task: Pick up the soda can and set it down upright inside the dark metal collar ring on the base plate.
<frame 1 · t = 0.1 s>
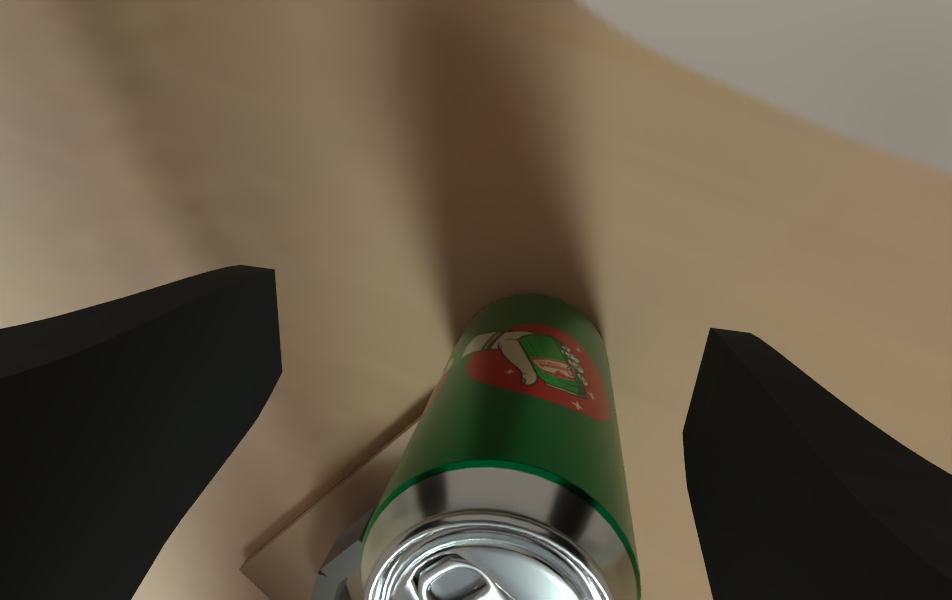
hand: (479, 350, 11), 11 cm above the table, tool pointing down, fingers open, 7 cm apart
soda can: (531, 359, 22), on the table
can socket: (435, 585, 25), on the table
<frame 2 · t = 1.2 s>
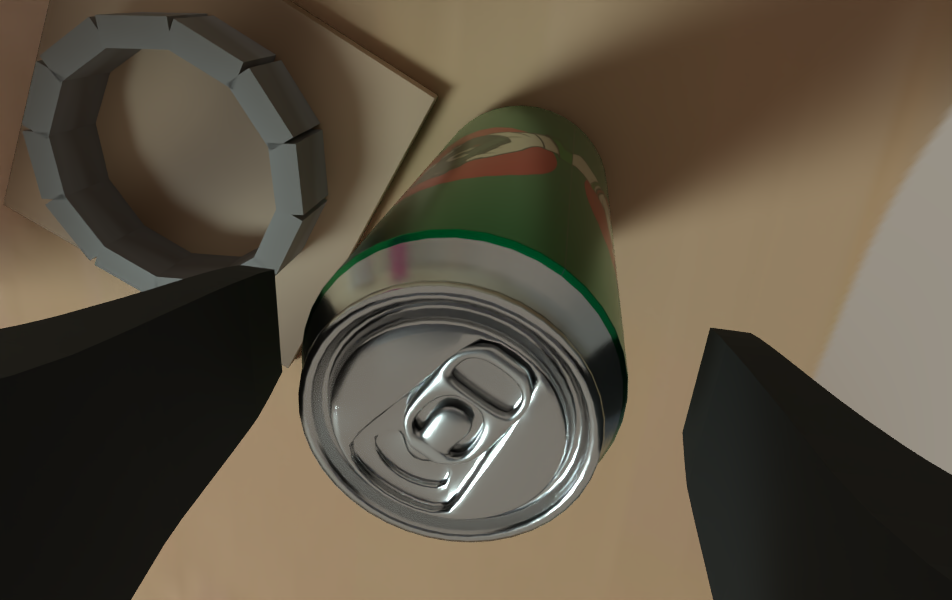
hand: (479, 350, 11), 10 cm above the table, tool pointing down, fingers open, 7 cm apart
soda can: (522, 186, 20), on the table
can socket: (207, 152, 21), on the table
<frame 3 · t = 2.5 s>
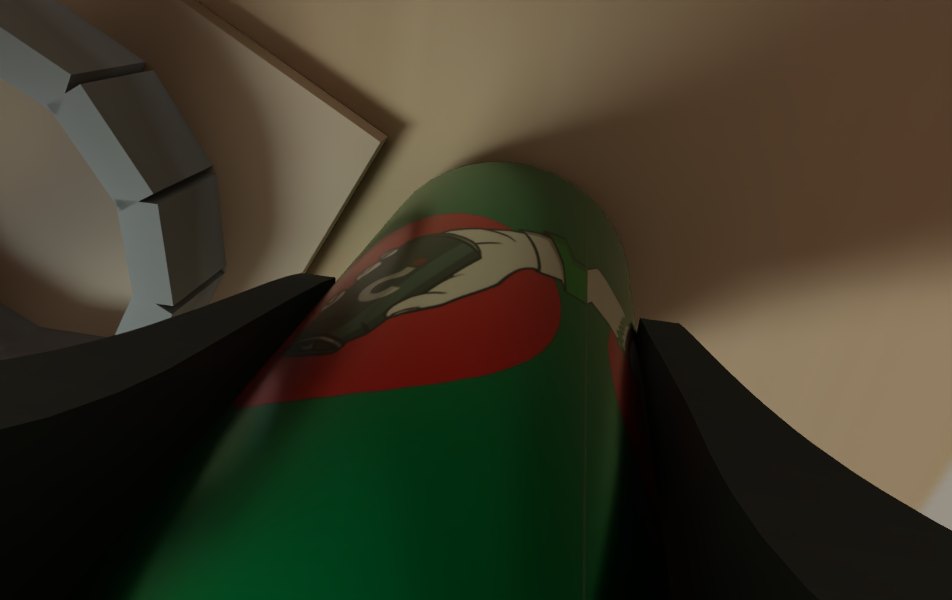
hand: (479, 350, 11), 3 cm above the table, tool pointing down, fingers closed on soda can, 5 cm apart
soda can: (504, 270, 14), on the table, touching gripper
can socket: (59, 192, 14), on the table
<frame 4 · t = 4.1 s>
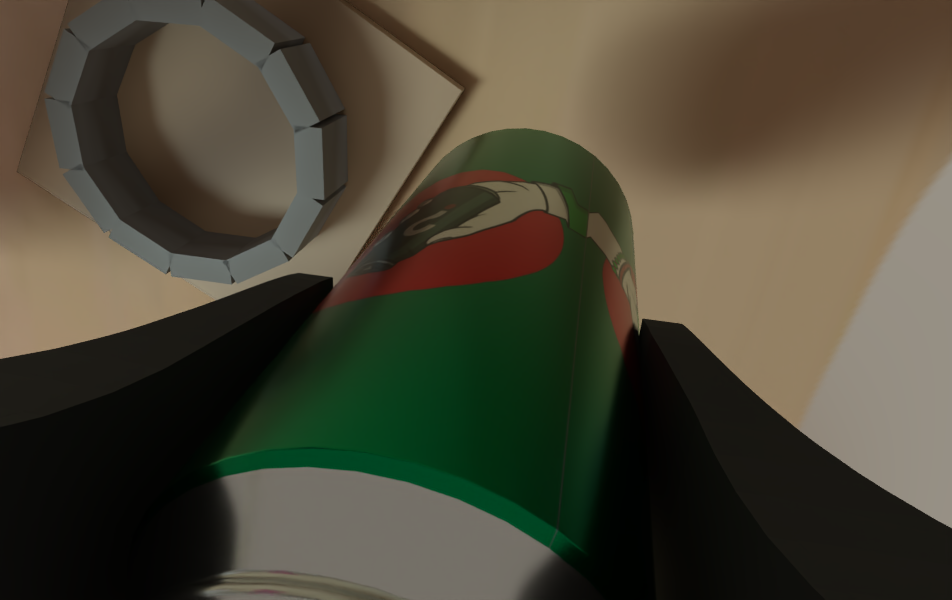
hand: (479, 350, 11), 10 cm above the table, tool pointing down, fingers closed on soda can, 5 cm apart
soda can: (524, 225, 16), point 4 cm above the table, touching gripper
can socket: (228, 131, 21), on the table
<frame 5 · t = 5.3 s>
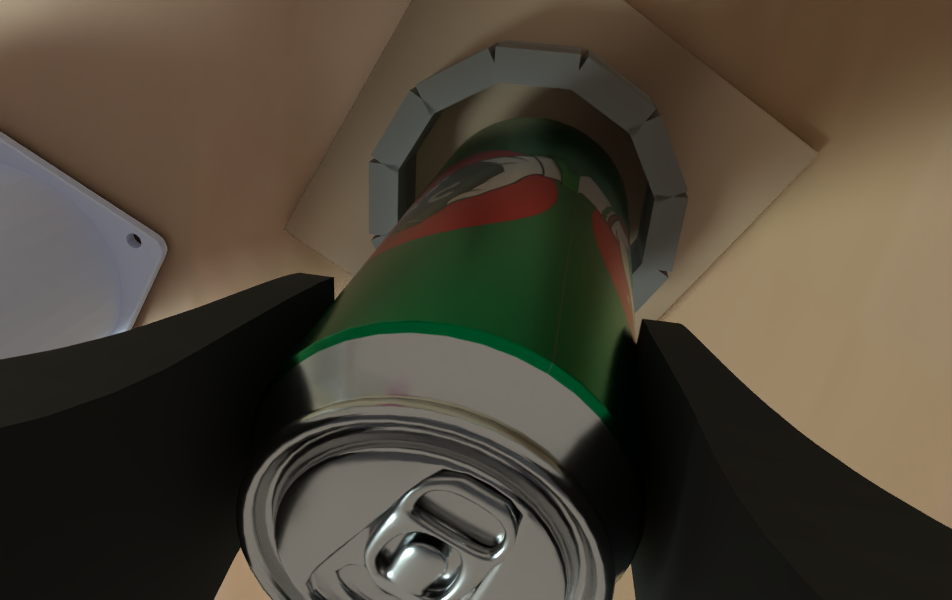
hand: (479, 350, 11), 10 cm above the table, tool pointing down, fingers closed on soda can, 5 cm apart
soda can: (532, 204, 18), point 2 cm above the table, touching gripper
can socket: (528, 190, 19), on the table
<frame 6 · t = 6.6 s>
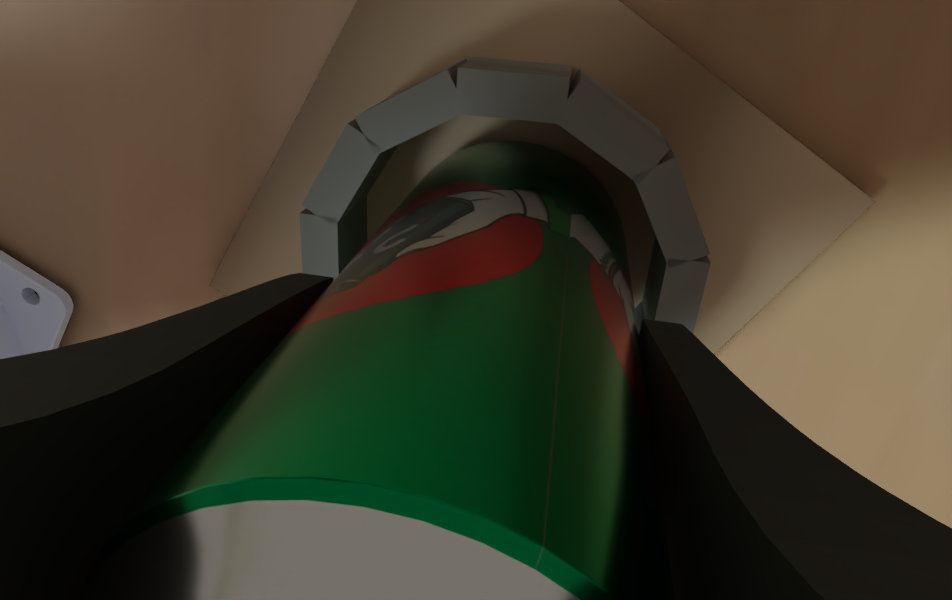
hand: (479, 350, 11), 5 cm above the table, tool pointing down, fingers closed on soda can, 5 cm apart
soda can: (513, 242, 15), resting on can socket, touching gripper
can socket: (507, 240, 15), on the table
when the fingers open (5 cm above the table, at t = 6.7 s): soda can stays where it is, resting on can socket.
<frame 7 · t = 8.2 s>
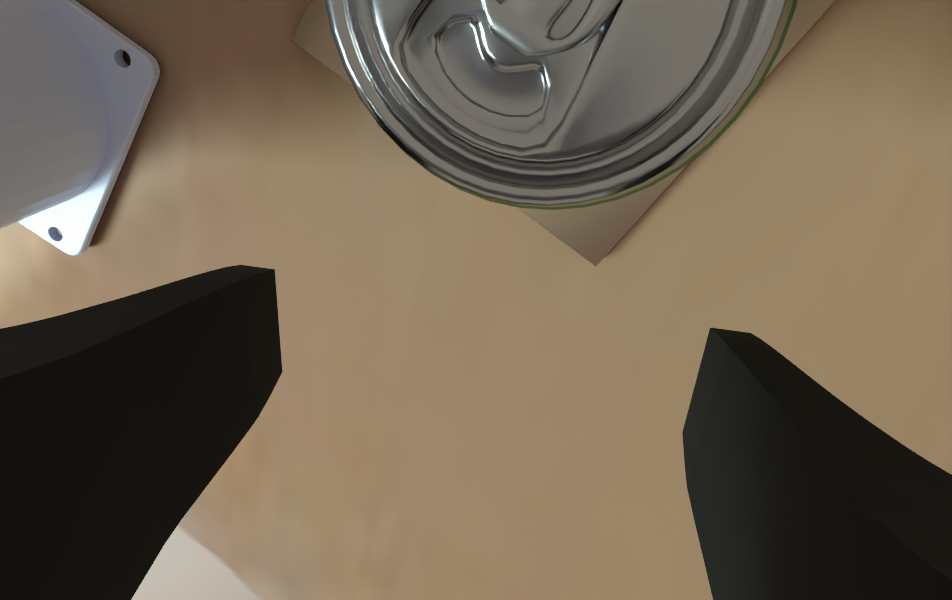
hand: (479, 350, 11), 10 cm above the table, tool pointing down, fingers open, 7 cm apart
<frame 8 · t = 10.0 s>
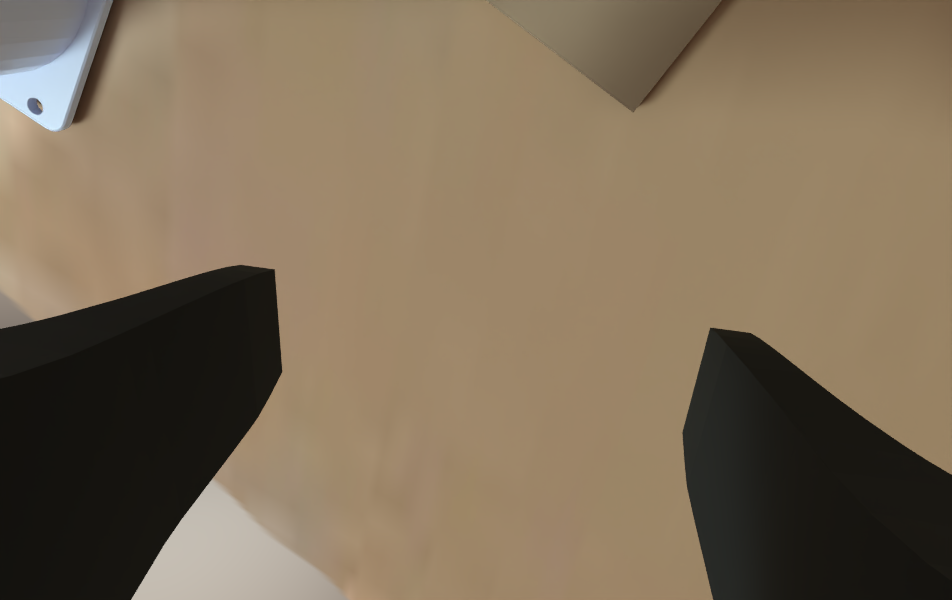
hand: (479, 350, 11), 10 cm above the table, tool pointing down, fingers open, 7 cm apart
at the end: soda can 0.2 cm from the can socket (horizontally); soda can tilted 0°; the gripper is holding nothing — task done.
